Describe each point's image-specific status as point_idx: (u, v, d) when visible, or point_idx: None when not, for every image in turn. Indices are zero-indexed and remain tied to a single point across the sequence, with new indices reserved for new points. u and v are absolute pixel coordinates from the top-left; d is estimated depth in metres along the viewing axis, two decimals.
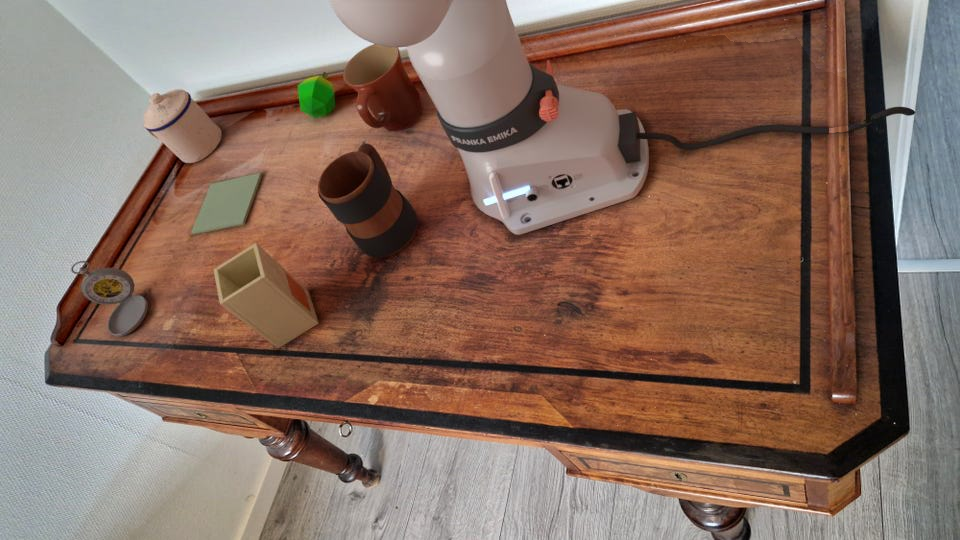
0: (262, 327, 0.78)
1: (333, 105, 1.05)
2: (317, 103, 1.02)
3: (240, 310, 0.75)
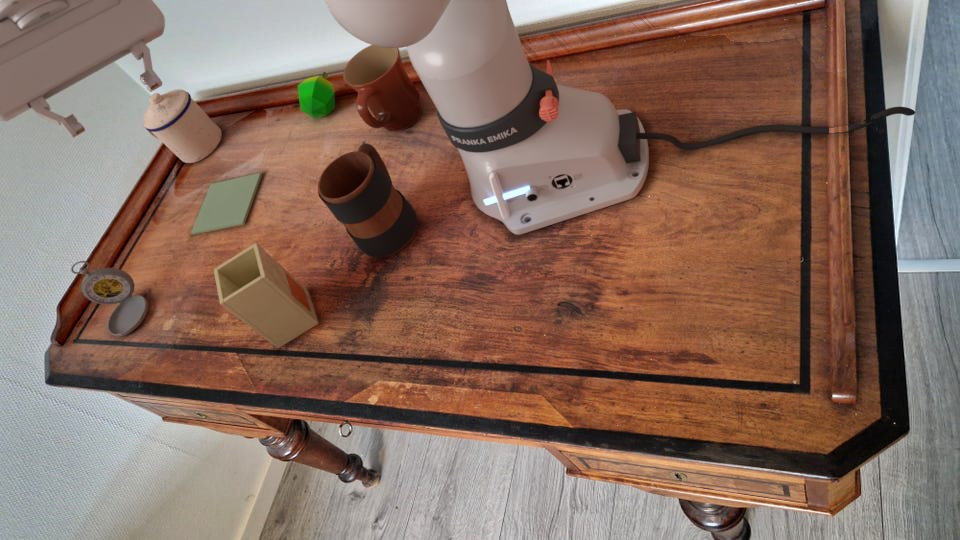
0: (262, 327, 0.78)
1: (333, 105, 1.05)
2: (317, 103, 1.02)
3: (240, 310, 0.75)
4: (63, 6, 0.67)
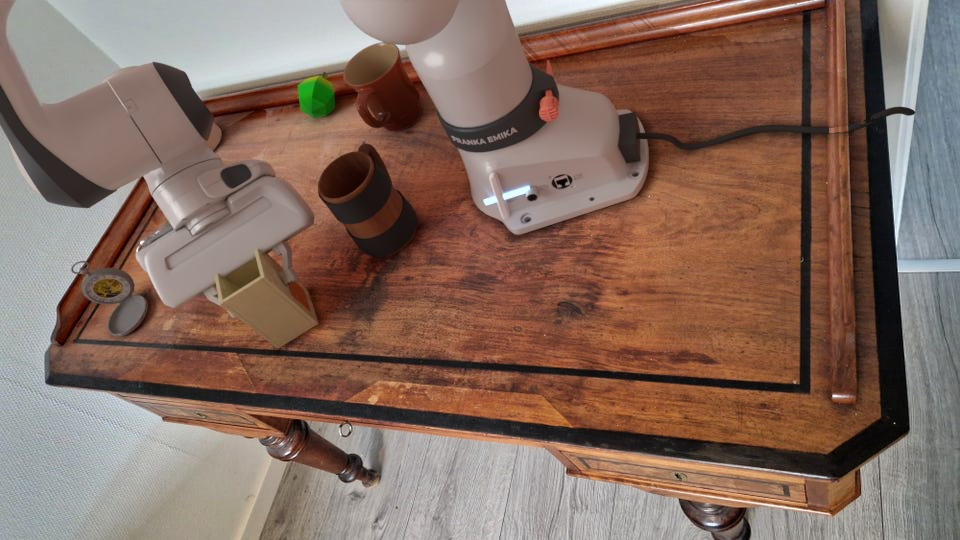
0: (262, 327, 0.78)
1: (333, 105, 1.05)
2: (317, 103, 1.02)
3: (240, 310, 0.75)
4: (225, 214, 0.75)
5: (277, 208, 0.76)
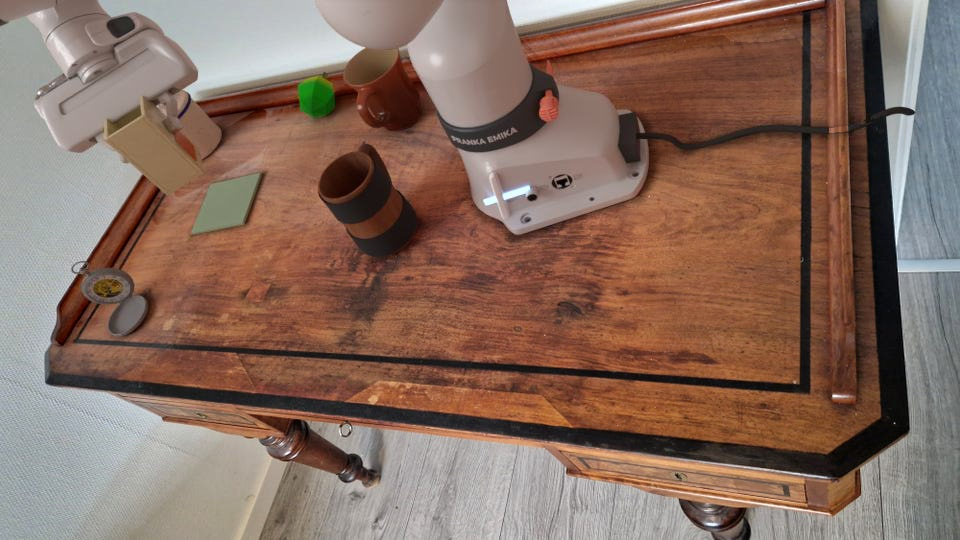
0: (149, 170, 0.86)
1: (333, 105, 1.05)
2: (317, 103, 1.02)
3: (125, 149, 0.83)
4: (112, 64, 0.83)
5: (160, 59, 0.84)
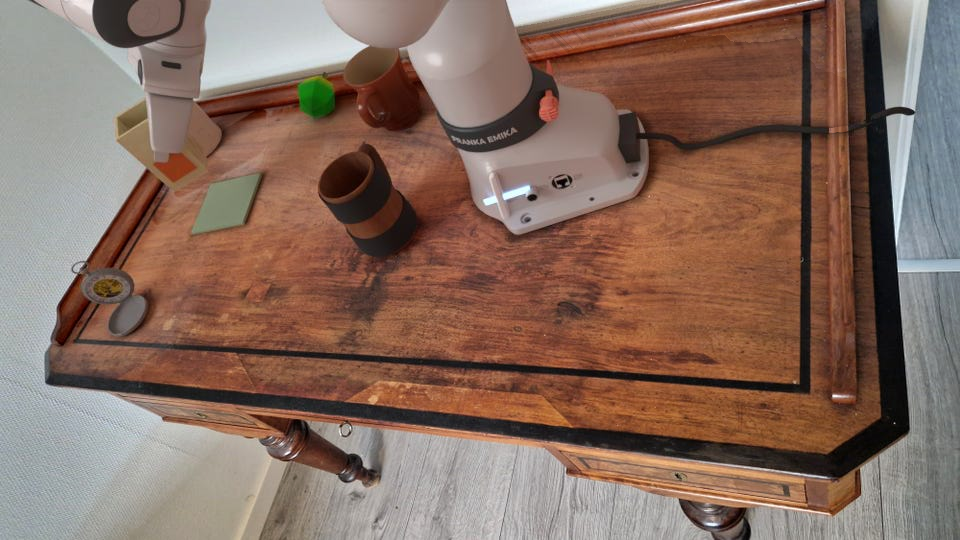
0: None
1: (333, 105, 1.05)
2: (317, 103, 1.02)
3: None
4: None
5: None
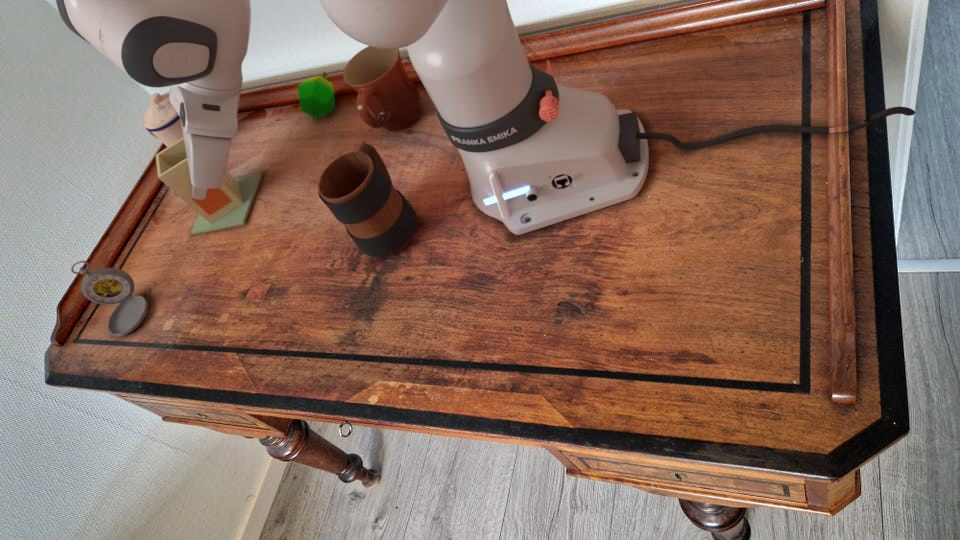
0: None
1: (333, 105, 1.05)
2: (317, 103, 1.02)
3: None
4: None
5: None
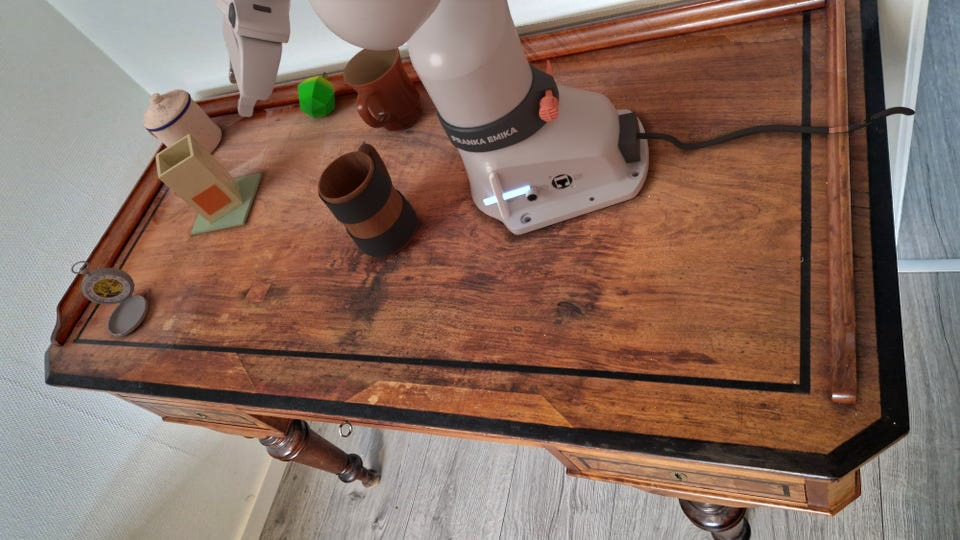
0: None
1: (333, 105, 1.05)
2: (317, 103, 1.02)
3: None
4: None
5: None
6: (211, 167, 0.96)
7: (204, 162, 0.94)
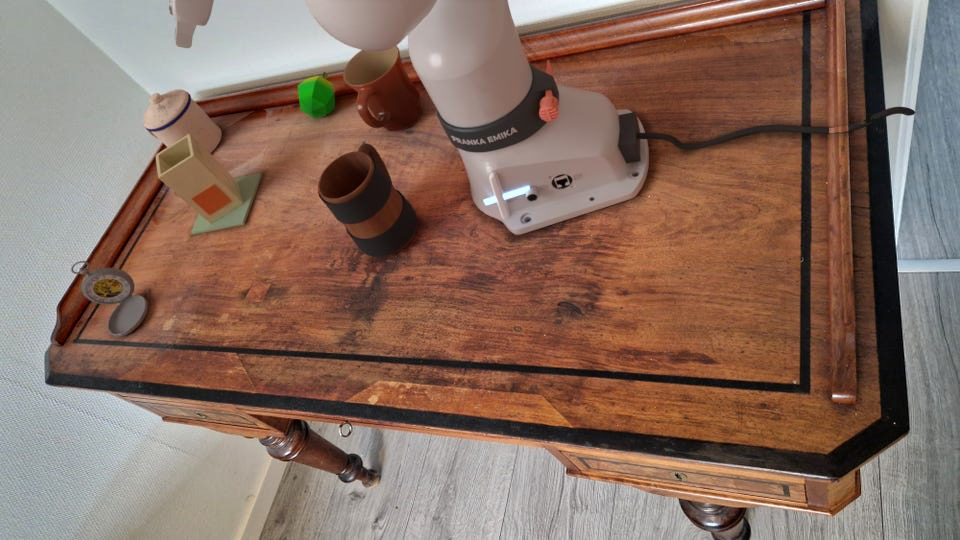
0: None
1: (333, 105, 1.05)
2: (317, 103, 1.02)
3: None
4: None
5: None
6: (211, 167, 0.96)
7: (204, 162, 0.94)
